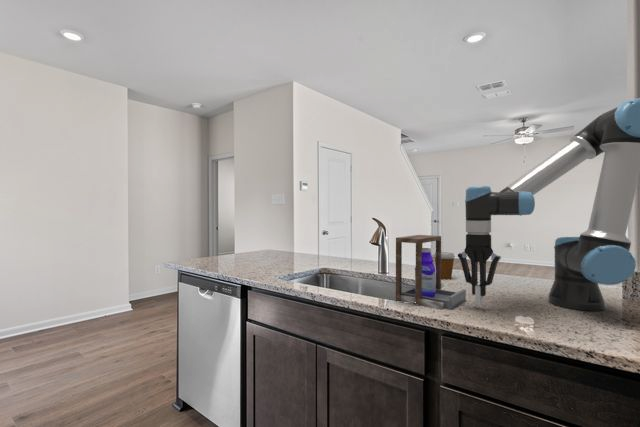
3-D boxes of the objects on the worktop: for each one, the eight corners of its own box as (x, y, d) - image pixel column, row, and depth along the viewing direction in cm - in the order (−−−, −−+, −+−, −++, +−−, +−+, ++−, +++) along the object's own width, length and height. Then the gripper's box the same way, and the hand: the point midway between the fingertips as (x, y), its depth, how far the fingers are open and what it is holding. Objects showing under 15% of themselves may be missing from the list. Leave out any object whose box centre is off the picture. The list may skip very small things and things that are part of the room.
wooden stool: (461, 298, 119) (461, 237, 119) (441, 309, 105) (442, 240, 104) (418, 290, 130) (418, 234, 130) (395, 300, 115) (395, 237, 115)
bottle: (414, 296, 117) (414, 248, 117) (415, 293, 122) (415, 247, 122) (435, 298, 114) (435, 249, 114) (436, 295, 119) (436, 247, 119)
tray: (465, 300, 115) (465, 289, 115) (451, 309, 105) (451, 297, 105) (417, 292, 127) (417, 282, 127) (400, 299, 117) (401, 288, 117)
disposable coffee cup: (456, 280, 149) (457, 254, 149) (435, 280, 151) (435, 254, 151) (452, 276, 158) (452, 252, 158) (432, 276, 160) (432, 251, 160)
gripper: (503, 233, 105) (504, 306, 105) (461, 232, 113) (462, 299, 113) (497, 234, 99) (498, 311, 99) (453, 233, 108) (454, 304, 108)
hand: (478, 305), depth 106 cm, fingers closed
